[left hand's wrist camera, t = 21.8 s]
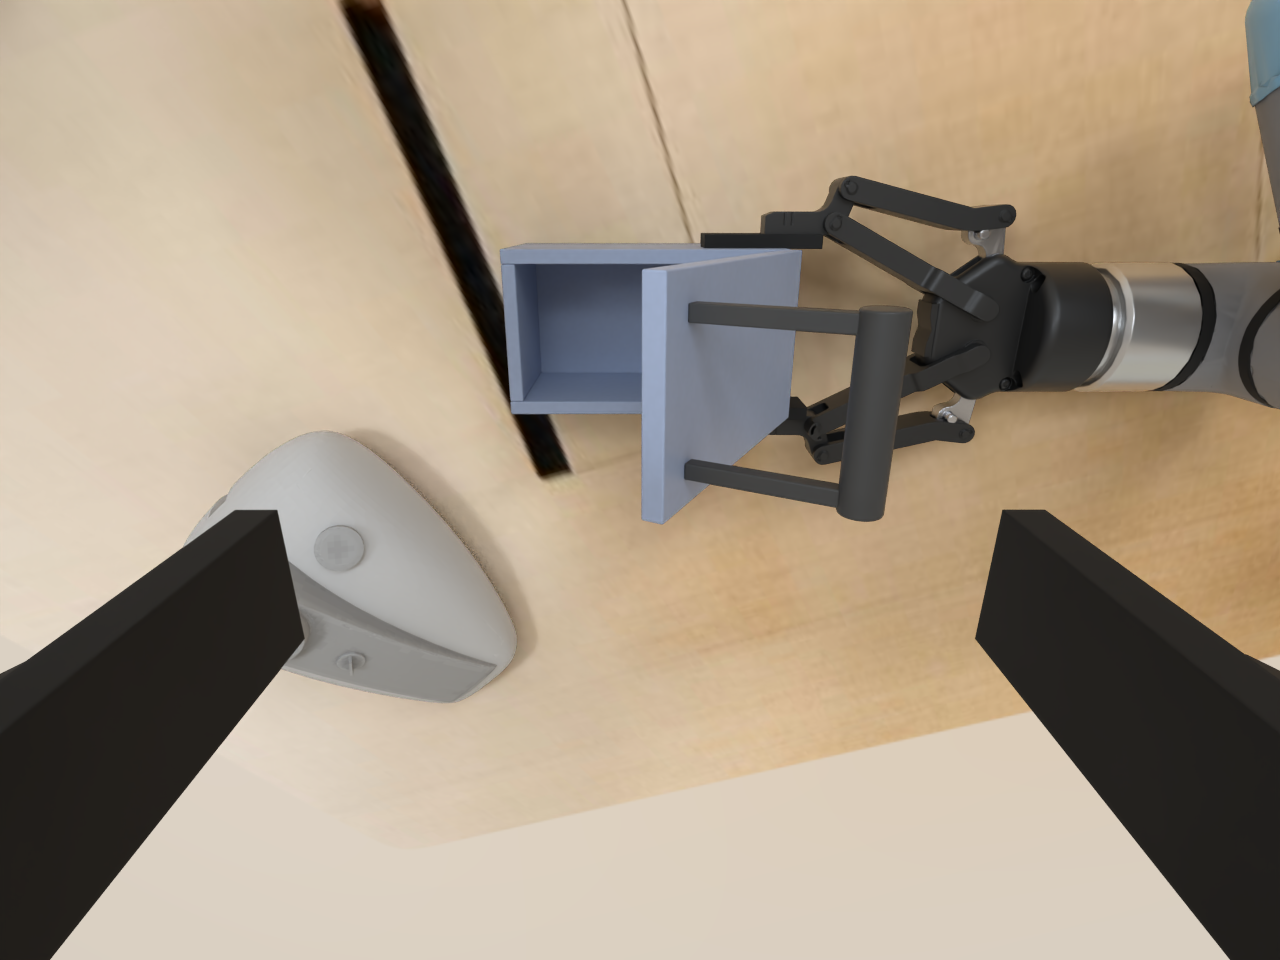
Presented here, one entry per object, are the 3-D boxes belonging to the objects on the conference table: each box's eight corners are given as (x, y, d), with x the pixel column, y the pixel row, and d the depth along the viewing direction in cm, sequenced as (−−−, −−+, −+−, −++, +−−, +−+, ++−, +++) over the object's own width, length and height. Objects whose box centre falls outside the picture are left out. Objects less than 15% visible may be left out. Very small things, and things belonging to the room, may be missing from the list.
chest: (532, 380, 47) (511, 414, 39) (524, 243, 44) (499, 249, 36) (755, 380, 47) (778, 414, 39) (763, 243, 44) (791, 249, 36)
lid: (640, 520, 26) (868, 571, 22) (640, 269, 22) (908, 279, 19) (772, 415, 39) (926, 436, 35) (785, 249, 36) (956, 253, 32)
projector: (259, 678, 56) (138, 825, 43) (196, 414, 48) (21, 492, 35) (523, 680, 57) (486, 828, 43) (506, 417, 48) (454, 495, 35)
